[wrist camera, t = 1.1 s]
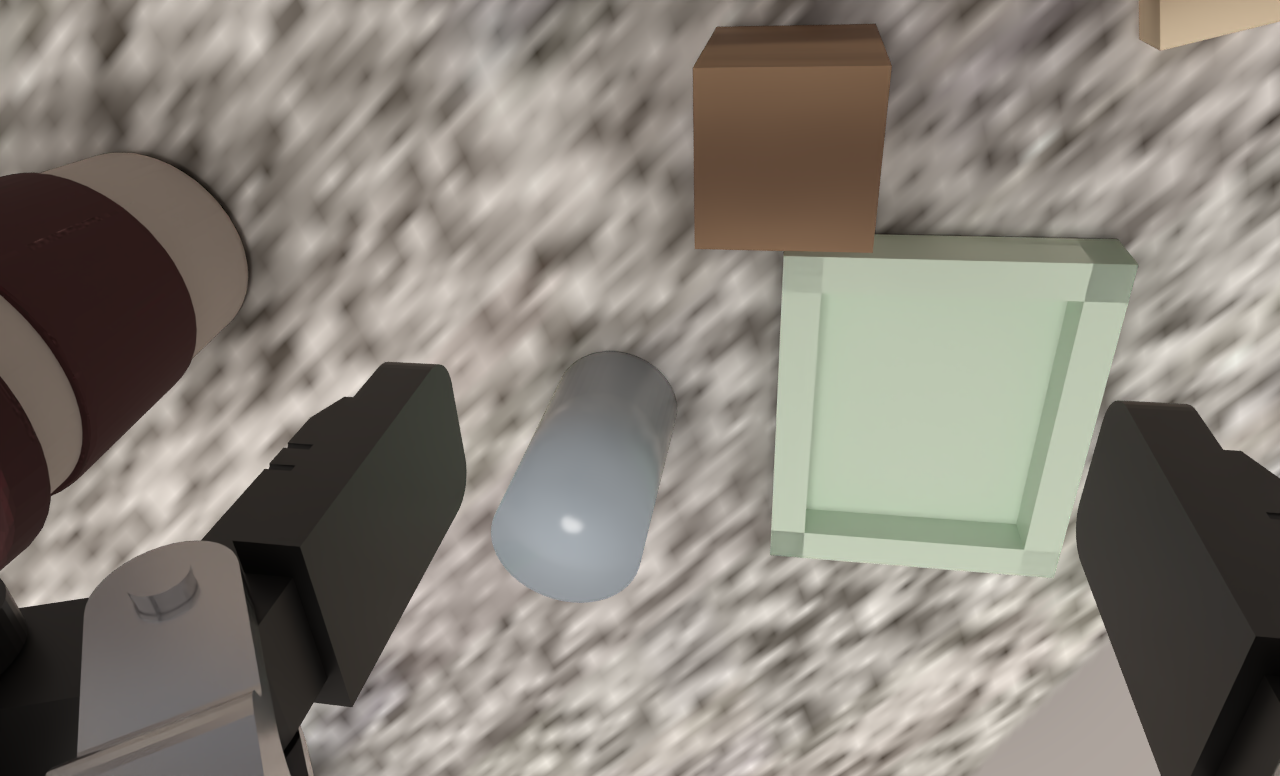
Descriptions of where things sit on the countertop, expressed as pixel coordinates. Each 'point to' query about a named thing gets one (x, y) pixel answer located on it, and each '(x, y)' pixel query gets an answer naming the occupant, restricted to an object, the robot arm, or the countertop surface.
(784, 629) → the countertop surface
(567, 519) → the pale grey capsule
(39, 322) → the coffee cup
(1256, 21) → the beech domino
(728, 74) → the walnut block
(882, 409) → the sage tray
